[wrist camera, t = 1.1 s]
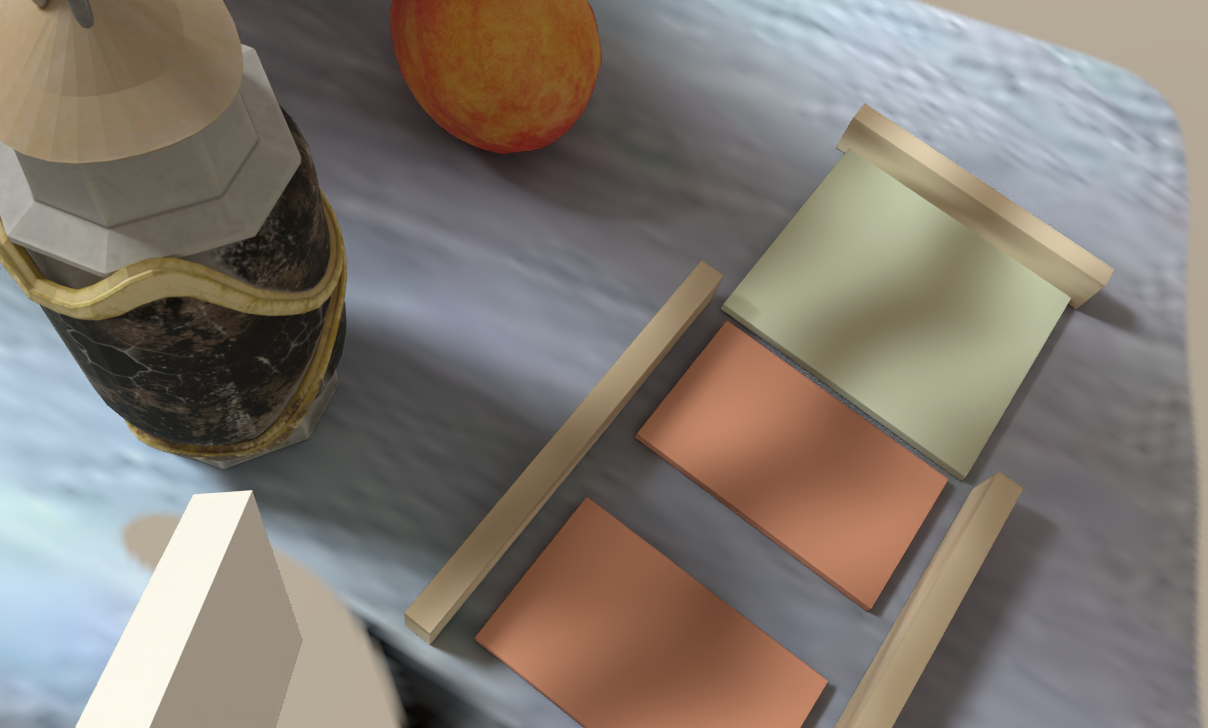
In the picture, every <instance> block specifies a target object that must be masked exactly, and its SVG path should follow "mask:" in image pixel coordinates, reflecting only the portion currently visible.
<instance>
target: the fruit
mask: <svg viewBox="0 0 1208 728" xmlns="http://www.w3.org/2000/svg"><path fill="white" fill-rule="evenodd" d="M390 26H391V36H392V42H393V47H394V52H395V55H396V58H397V61H398V65H399V68H400V71H401V74H402V76H403V78H404V80H405V81H406V83H407V85H408V86H409V88H410V90H411V92H412V93H413V95H414V97H415V98H416V100H417V102H418V103H419V104H420V106H421V107H422V108H423V109H424V110H425V111H426V113H427V114H428V115H429V116H430V117H431V118H432V119H433V120H434V121H435V122H436V123H437V124H439V125H440V126H441V127H442V128H443V129H444V130H446V131H447V132H449V133H450V134H451V135H453V136H455V137H457V138H459V139H460V140H462V141H464V142H466V143H468V144H470V145H473V146H475V147H478V148H481V149H484V150H487V151H491V152H496V153H501V154H507V153H514V152H523V151H534V150H537V149H540V148H543V147H546V146H547V145H549V144H551V143H552V142H554V141H556V140H557V139H559V138H560V137H561V136H563V135H564V134H565V133H566V132H568V131H569V130H570V129H571V128H572V126H573V125H574V124H575V122H576V121H577V120H578V118H579V117H580V116H581V114H582V113H583V112H584V110H585V108H586V106H587V104H588V102H589V99H590V97H591V95H592V92H593V90H594V87H595V83H596V79H597V75H598V72H599V68H600V65H601V61H602V53H601V45H600V40H599V35H598V29H597V24H596V19H595V16H594V13H593V10H592V8H591V6H590V4H589V3H588V1H587V0H392V3H391V10H390Z"/></svg>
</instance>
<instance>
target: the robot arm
mask: <svg viewBox="0 0 1208 728" xmlns="http://www.w3.org/2000/svg"><path fill="white" fill-rule="evenodd" d="M301 643H302V637H301V634H300V631H299V628H298V625H297V622H296V619H295V616H294V613H293V611H292V607H291V604H290V601H289V598H288V596H287V593H286V590H285V587H284V584H283V581H282V578H281V575H280V572H279V569H278V566H277V563H276V560H275V557H274V554H273V551H272V548H271V545H270V542H269V539H268V536H267V533H266V530H265V527H264V524H263V521H262V518H261V515H260V512H259V509H258V506H257V503H256V500H255V497H254V494H253V491H252V490H249V491H235V492H222V493H208V494H194V495H193V497H192V498H191V500H190V502H189V504H188V506H187V508H186V510H185V512H184V514H183V516H182V518H181V520H180V522H179V524H178V526H177V528H176V530H175V532H174V534H173V536H172V538H171V540H170V542H169V544H168V546H167V548H166V550H165V552H164V554H163V556H162V558H161V560H160V562H159V563H158V565H157V567H156V569H155V571H154V573H153V575H152V577H151V579H150V581H149V583H148V585H147V587H146V589H145V591H144V593H143V595H142V597H141V599H140V601H139V603H138V605H137V607H136V609H135V611H134V613H133V615H132V617H131V619H130V621H129V623H128V625H127V627H126V628H125V630H124V632H123V634H122V636H121V638H120V640H119V642H118V644H117V646H116V648H115V650H114V652H113V654H112V656H111V658H110V660H109V662H108V664H107V666H106V668H105V670H104V672H103V674H102V676H101V678H100V680H99V682H98V684H97V686H96V688H95V690H94V692H93V694H92V695H91V697H90V699H89V701H88V703H87V705H86V707H85V709H84V711H83V713H82V715H81V717H80V719H79V721H78V723H77V725H76V727H75V728H276V725H277V721H278V718H279V715H280V711H281V708H282V705H283V702H284V699H285V695H286V692H287V689H288V685H289V682H290V679H291V676H292V672H293V669H294V666H295V663H296V659H297V656H298V653H299V650H300V646H301Z"/></svg>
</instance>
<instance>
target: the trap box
mask: <svg viewBox="0 0 1208 728" xmlns="http://www.w3.org/2000/svg"><path fill="white" fill-rule="evenodd" d="M836 148H838V149H839V150H841V151H842V152H844V153H845V154H844V155H843V156H842V157H841V159H840V160H839V161H838V162H837V164H836V165H835V166H834V167H833V169H832V170H831V171H830V172H829V174H828V175H827V176H826V177H825V179H824V180H823V181H822V182H821V183H820V185H819V186H818V187H817V188H816V190H815V191H814V192H813V193H812V195H811V196H810V197H809V198H808V200H807V201H806V202H805V203H804V205H803V206H802V207H801V208H800V210H799V211H798V212H797V213H796V214H795V216H794V217H793V218H792V219H791V221H790V222H789V223H788V224H787V226H786V227H785V228H784V229H783V231H782V232H781V233H780V234H779V236H778V237H777V238H776V239H775V241H774V242H773V243H772V244H771V246H770V247H769V248H768V249H767V250H766V252H765V253H764V254H763V255H762V257H761V258H760V259H759V260H758V262H757V263H756V264H755V265H754V267H753V268H752V269H751V270H750V272H749V273H748V274H747V275H746V277H745V278H744V279H743V280H742V281H741V283H740V284H739V285H738V286H737V288H736V289H735V290H734V291H733V293H732V294H731V295H730V296H729V298H728V299H727V300H726V301H725V303H724V304H723V306H722V307H721V309H722V310H723V311H724V312H726V313H727V314H729V315H730V316H731V317H733V318H734V319H736V320H737V321H738V322H740V323H741V324H742V325H744V326H745V327H747V328H748V329H749V330H751V331H752V332H754V333H755V334H756V335H758V336H759V337H761V338H762V339H763V340H765V341H766V342H768V343H769V344H770V345H772V346H773V347H775V348H776V349H777V350H779V351H780V352H782V353H783V354H784V355H786V356H787V357H789V358H790V359H791V360H793V361H794V362H796V363H797V364H798V365H800V366H801V367H802V368H804V369H805V370H807V371H808V372H809V373H811V374H812V375H814V376H815V377H816V378H818V379H819V380H821V381H822V382H823V383H825V384H826V385H828V386H829V387H830V388H832V389H833V390H835V391H836V392H837V393H839V394H840V395H842V396H843V397H844V398H846V399H847V400H849V401H850V402H851V403H853V404H854V405H856V406H857V407H858V408H860V409H861V410H862V411H864V412H865V413H867V414H868V415H869V416H871V417H872V418H874V419H875V420H876V421H878V422H879V423H881V424H882V425H883V426H885V427H886V428H888V429H889V430H890V431H892V432H893V433H895V434H896V435H897V436H899V437H900V438H902V439H903V440H904V441H906V442H907V443H909V444H910V445H911V446H913V447H914V448H916V449H917V450H918V451H920V452H921V453H922V454H924V455H925V456H927V457H928V458H929V459H931V460H932V461H934V462H935V463H936V464H938V465H939V466H941V467H942V468H943V469H945V470H946V471H948V472H949V473H950V474H952V475H953V476H955V477H956V478H957V479H959V480H960V481H961V480H963V479H964V478H966V476H967V475H968V473H969V471H970V470H971V468H972V466H973V464H974V463H975V461H976V459H977V458H978V456H979V454H980V453H981V451H982V449H983V447H984V446H985V444H986V442H987V441H988V439H989V437H990V435H991V434H992V432H993V430H994V429H995V427H996V425H997V424H998V422H999V420H1000V418H1001V417H1002V415H1003V413H1004V412H1005V410H1006V408H1007V407H1008V405H1009V403H1010V401H1011V400H1012V398H1013V396H1014V395H1015V393H1016V391H1017V389H1018V388H1019V386H1020V384H1021V383H1022V381H1023V379H1024V378H1025V376H1026V374H1027V372H1028V371H1029V369H1030V367H1031V366H1032V364H1033V362H1034V361H1035V359H1036V357H1037V355H1038V354H1039V352H1040V350H1041V349H1042V347H1043V345H1044V343H1045V342H1046V340H1047V338H1048V337H1049V335H1050V333H1051V332H1052V330H1053V328H1054V326H1055V325H1056V323H1057V321H1058V320H1059V318H1060V316H1061V315H1062V313H1063V311H1064V309H1065V308H1066V306H1067V304H1069V305H1070V306H1072V307H1073V308H1075V309H1077V308H1079V307H1080V306H1081V305H1082V304H1084V303H1085V302H1086V301H1087V300H1088V299H1090V298H1091V297H1092V296H1093V295H1095V294H1096V293H1097V292H1098V291H1099V290H1101V289H1102V288H1103V287H1104V286H1105V285H1106V283H1107V282H1108V280H1109V278H1110V276H1111V275H1112V273H1113V271H1114V269H1113V268H1111V267H1110V266H1108V265H1107V264H1105V263H1104V262H1102V261H1101V260H1099V259H1098V258H1096V257H1095V256H1093V255H1092V254H1090V253H1089V252H1087V251H1086V250H1084V249H1083V248H1081V247H1080V246H1078V245H1077V244H1075V243H1074V242H1072V241H1071V240H1069V239H1068V238H1066V237H1065V236H1063V235H1062V234H1060V233H1059V232H1057V231H1056V230H1054V229H1053V228H1051V227H1050V226H1048V225H1047V224H1045V223H1044V222H1042V221H1041V220H1039V219H1038V218H1036V217H1035V216H1033V215H1032V214H1030V213H1029V212H1027V211H1026V210H1024V209H1023V208H1021V207H1020V206H1018V205H1017V204H1015V203H1014V202H1012V201H1011V200H1009V199H1008V198H1006V197H1005V196H1003V195H1002V194H1000V193H999V192H997V191H996V190H994V189H993V188H991V187H990V186H988V185H987V184H985V183H984V182H982V181H981V180H979V179H978V178H976V177H975V176H973V175H972V174H970V173H969V172H967V171H966V170H964V169H963V168H961V167H960V166H958V165H957V164H955V163H954V162H952V161H951V160H949V159H948V158H946V157H945V156H943V155H942V154H940V153H939V152H937V151H936V150H934V149H933V148H931V147H930V146H928V145H927V144H925V143H924V142H922V141H921V140H919V139H918V138H916V137H915V136H913V135H912V134H910V133H909V132H907V131H906V130H904V129H903V128H901V127H900V126H898V125H897V124H895V123H894V122H892V121H891V120H889V119H888V118H886V117H885V116H883V115H881V114H880V113H878V112H877V111H875V110H874V109H872V108H871V107H869V106H868V105H866V104H864V105H863V106H862V108H861V109H860V110H859V111H858V113H857V114H856V115H855V116H854V117H853V119H852V121H851V122H850V124H849V126H848V128H847V129H846V131H845V133H844V134H843V136H842V138H841V139H840V141H839V143H838V145H837V146H836ZM722 278H723V275H722V274H721V273H719V272H718V271H716V270H715V269H714V268H712V267H711V266H709V265H708V264H707V263H705V262H704V261H702V260H701V262H700V263H699V264H698V265H697V266H696V268H695V269H694V270H693V271H692V272H691V274H690V275H689V276H688V277H687V278H686V279H685V281H684V282H683V283H682V284H681V285H680V287H679V288H678V289H677V290H676V291H675V293H674V294H673V295H672V296H671V297H670V298H669V300H668V301H667V302H666V303H665V304H664V306H663V307H662V308H661V309H660V310H659V311H658V313H657V314H656V315H655V316H654V317H653V319H652V320H651V321H650V322H649V323H648V325H647V326H646V327H645V328H644V329H643V330H642V332H641V333H640V334H639V335H638V336H637V338H636V339H635V340H634V341H633V342H632V344H631V345H630V346H629V347H628V348H627V349H626V351H625V352H624V353H623V354H622V355H621V357H620V358H619V359H618V360H617V361H616V362H615V364H614V365H613V366H612V367H611V368H610V370H609V371H608V372H607V373H606V374H605V376H604V377H603V378H602V379H601V380H600V381H599V383H598V384H597V385H596V386H595V387H594V389H593V390H592V391H591V392H590V393H589V395H588V396H587V397H586V398H585V399H584V400H583V402H582V403H581V404H580V405H579V406H578V408H577V409H576V410H575V411H574V412H573V413H572V415H571V416H570V417H569V418H568V419H567V421H566V422H565V423H564V424H563V425H562V427H561V428H560V429H559V430H558V431H557V432H556V434H555V435H554V436H553V437H552V438H551V440H550V441H549V442H548V443H547V444H546V446H545V447H544V448H543V449H542V450H541V451H540V453H539V454H538V455H537V456H536V457H535V459H534V460H533V461H532V462H531V463H530V464H529V466H528V467H527V468H526V469H525V470H524V472H523V473H522V474H521V475H520V476H519V478H518V479H517V480H516V481H515V482H514V483H513V485H512V486H511V487H510V488H509V489H508V491H507V492H506V493H505V494H504V495H503V497H502V498H501V499H500V500H499V501H498V502H497V504H496V505H495V506H494V507H493V508H492V510H491V511H490V512H489V513H488V514H487V515H486V517H485V518H484V519H483V520H482V521H481V523H480V524H479V525H478V526H477V527H476V529H475V530H474V531H473V532H472V533H471V534H470V536H469V537H468V538H467V539H466V540H465V542H464V543H463V544H462V545H461V546H460V548H459V549H458V550H457V551H456V552H455V553H454V555H453V556H452V557H451V558H450V559H449V561H448V562H447V563H446V564H445V565H444V566H443V568H442V569H441V570H440V571H439V572H438V574H437V575H436V576H435V577H434V578H433V580H432V581H431V582H430V583H429V584H428V585H427V587H426V588H425V589H424V590H423V591H422V593H421V594H420V595H419V596H418V597H417V599H416V600H415V601H414V602H413V603H412V604H411V606H410V607H409V608H408V609H407V610H406V612H405V613H404V614H405V623H406V626H407V627H408V628H409V629H411V630H412V631H413V632H414V633H416V634H417V635H418V636H419V637H420V638H422V639H423V640H424V641H425V642H427V643H428V644H429V645H430V644H431V643H432V642H433V641H434V639H435V638H436V637H437V636H438V635H439V633H440V632H441V631H442V630H443V628H444V627H445V626H446V625H447V623H448V622H449V621H450V620H451V619H452V617H453V616H454V615H455V614H456V612H457V611H458V610H459V609H460V608H461V606H462V605H463V604H464V603H465V601H466V600H467V599H468V598H469V597H470V595H471V594H472V593H473V592H474V590H475V589H476V588H477V587H478V585H479V584H480V583H481V582H482V581H483V579H484V578H485V577H486V576H487V574H488V573H489V572H490V571H491V570H492V568H493V567H494V566H495V565H496V563H497V562H498V561H499V560H500V559H501V557H502V556H503V555H504V554H505V552H506V551H507V550H508V549H509V547H510V546H511V545H512V544H513V543H514V541H515V540H516V539H517V538H518V536H519V535H520V534H521V533H522V532H523V530H524V529H525V528H526V527H527V525H528V524H529V523H530V522H531V521H532V519H533V518H534V517H535V516H536V514H537V513H538V512H539V511H540V509H541V508H542V507H543V506H544V505H545V503H546V502H547V501H548V500H549V498H550V497H551V496H552V495H553V494H554V492H555V491H556V490H557V489H558V487H559V486H560V485H561V484H562V482H563V481H564V480H565V479H566V478H567V476H568V475H569V474H570V473H571V471H572V470H573V469H574V468H575V467H576V465H577V464H578V463H579V462H580V460H581V459H582V458H583V457H584V456H585V454H586V453H587V452H588V451H589V449H590V448H591V447H592V446H593V444H594V443H595V442H596V441H597V440H598V438H599V437H600V436H601V435H602V433H603V432H604V431H605V430H606V429H607V427H608V426H609V425H610V424H611V422H612V421H613V420H614V419H615V418H616V416H617V415H618V414H619V413H620V411H621V410H622V409H623V408H624V406H625V405H626V404H627V403H628V402H629V400H630V399H631V398H632V397H633V395H634V394H635V393H636V392H637V391H638V389H639V388H640V387H641V386H642V384H643V383H644V382H645V381H646V380H647V378H648V377H649V376H650V375H651V373H652V372H653V371H654V370H655V368H656V367H657V366H658V365H659V364H660V362H661V361H662V360H663V359H664V357H665V356H666V355H667V354H668V353H669V351H670V350H671V349H672V348H673V346H674V345H675V344H676V343H677V341H678V340H679V339H680V338H681V337H682V335H683V334H684V333H685V332H686V330H687V329H688V328H689V327H690V326H691V324H692V323H693V322H694V321H695V319H696V318H697V317H698V316H699V315H700V313H701V312H702V311H703V310H704V308H705V307H706V306H707V305H708V303H709V302H710V301H711V299H712V297H713V295H714V293H715V291H716V289H717V287H718V286H719V284H720V282H721V280H722ZM635 438H636V439H637V440H639V441H640V442H641V443H643V444H644V445H646V446H647V447H648V448H650V449H651V450H652V451H654V452H655V453H656V454H658V455H659V456H660V457H662V458H663V459H664V460H666V461H667V462H668V463H670V464H671V465H672V466H674V467H675V468H676V469H678V470H679V471H680V472H682V473H683V474H684V475H686V476H687V477H688V478H690V479H691V480H692V481H694V482H695V483H696V484H698V485H699V486H700V487H702V488H703V489H704V490H706V491H707V492H708V493H710V494H711V495H712V496H714V497H715V498H716V499H718V500H719V501H720V502H722V503H723V504H724V505H726V506H727V507H728V508H730V509H731V510H732V511H734V512H735V513H736V514H738V515H739V516H740V517H742V518H743V519H744V520H746V521H747V522H748V523H750V524H751V525H752V526H754V527H755V528H756V529H758V530H759V531H760V532H762V533H763V534H764V535H766V536H767V537H768V538H770V539H771V540H772V541H774V542H775V543H776V544H778V545H779V546H780V547H782V548H783V549H784V550H786V551H787V552H788V553H790V554H791V555H792V556H794V557H795V558H796V559H798V560H799V561H800V562H802V563H803V564H804V565H806V566H807V567H808V568H810V569H811V570H812V571H814V572H815V573H816V574H818V575H819V576H820V577H822V578H823V579H824V580H826V581H827V582H828V583H830V584H831V585H832V586H834V587H835V588H836V589H838V590H839V591H840V592H842V593H843V594H844V595H846V596H847V597H848V598H850V599H851V600H852V601H854V602H855V603H856V604H858V605H859V606H860V607H862V608H863V609H864V610H866V611H868V610H870V609H871V608H872V607H873V605H874V603H875V602H876V600H877V598H878V597H879V595H880V593H881V592H882V590H883V588H884V586H885V585H886V583H887V581H888V580H889V578H890V576H891V575H892V573H893V571H894V570H895V568H896V566H897V565H898V563H899V561H900V560H901V558H902V556H903V555H904V553H905V551H906V550H907V548H908V546H909V545H910V543H911V541H912V540H913V538H914V536H915V535H916V533H917V531H918V529H919V528H920V526H921V524H922V523H923V521H924V519H925V518H926V516H927V514H928V513H929V511H930V509H931V508H932V506H933V504H934V503H935V501H936V499H937V498H938V496H939V494H940V493H941V491H942V489H943V488H944V486H945V484H946V483H947V481H948V479H947V478H946V477H945V476H943V475H942V474H940V473H939V472H938V471H936V470H935V469H933V468H932V467H931V466H929V465H928V464H926V463H925V462H924V461H922V460H921V459H920V458H918V457H917V456H915V455H914V454H913V453H911V452H910V451H908V450H907V449H906V448H904V447H903V446H901V445H900V444H899V443H897V442H896V441H894V440H893V439H892V438H890V437H889V436H887V435H886V434H885V433H883V432H882V431H880V430H879V429H878V428H876V427H875V426H874V425H872V424H871V423H869V422H868V421H867V420H865V419H864V418H862V417H861V416H860V415H858V414H857V413H855V412H854V411H853V410H851V409H850V408H848V407H847V406H846V405H844V404H843V403H841V402H840V401H839V400H837V399H836V398H835V397H833V396H832V395H830V394H829V393H828V392H826V391H825V390H823V389H822V388H821V387H819V386H818V385H816V384H815V383H814V382H812V381H811V380H809V379H808V378H807V377H805V376H804V375H802V374H801V373H800V372H798V371H797V370H796V369H794V368H793V367H791V366H790V365H789V364H787V363H786V362H784V361H783V360H782V359H780V358H779V357H777V356H776V355H775V354H773V353H772V352H770V351H769V350H768V349H766V348H765V347H763V346H762V345H761V344H759V343H758V342H757V341H755V340H754V339H752V338H751V337H750V336H748V335H747V334H745V333H744V332H743V331H741V330H740V329H738V328H737V327H736V326H734V325H733V324H731V323H730V322H729V321H726V322H725V323H724V325H723V326H722V327H721V329H720V330H719V331H718V332H717V334H716V335H715V336H714V337H713V339H712V340H711V341H710V342H709V344H708V345H707V346H706V347H705V349H704V350H703V351H702V352H701V354H700V355H699V356H698V357H697V359H696V360H695V361H694V362H693V364H692V365H691V366H690V367H689V369H688V370H687V371H686V373H685V374H684V375H683V376H682V378H681V379H680V380H679V381H678V383H677V384H676V385H675V386H674V388H673V389H672V390H671V391H670V393H669V394H668V395H667V396H666V398H665V399H664V400H663V401H662V403H661V404H660V405H659V406H658V408H657V409H656V410H655V412H654V413H653V414H652V415H651V417H650V418H649V419H648V420H647V422H646V423H645V424H644V425H643V427H642V428H641V429H640V430H639V432H638V433H637V434H636V436H635ZM1022 490H1023V488H1022V487H1020V486H1019V485H1018V484H1016V483H1015V482H1013V481H1012V480H1011V479H1009V478H1008V477H1006V476H1005V475H1004V474H1002V473H1001V472H998V473H996V474H995V475H993V476H992V477H990V478H989V479H987V480H985V481H984V482H982V483H981V484H979V485H978V486H976V487H975V488H973V489H972V490H971V492H970V494H969V495H968V497H967V499H966V501H965V502H964V504H963V506H962V507H961V509H960V511H959V513H958V514H957V516H956V518H955V519H954V521H953V523H952V525H951V526H950V528H949V530H948V532H947V533H946V535H945V537H944V538H943V540H942V542H941V544H940V545H939V547H938V549H937V551H936V552H935V554H934V556H933V557H932V559H931V561H930V563H929V564H928V566H927V568H926V570H925V571H924V573H923V575H922V576H921V578H920V580H919V582H918V583H917V585H916V587H915V589H914V590H913V592H912V594H911V595H910V597H909V599H908V601H907V602H906V604H905V606H904V607H903V609H902V611H901V613H900V614H899V616H898V618H897V620H896V621H895V623H894V625H893V626H892V628H891V630H890V632H889V633H888V635H887V637H886V639H885V640H884V642H883V644H882V645H881V647H880V649H879V651H878V652H877V654H876V656H875V658H874V659H873V661H872V663H871V664H870V666H869V668H868V670H867V671H866V673H865V675H864V677H863V678H862V680H861V682H860V683H859V685H858V687H857V689H856V690H855V692H854V694H853V695H852V697H851V699H850V701H849V702H848V704H847V706H846V708H845V709H844V711H843V713H842V714H841V716H840V718H839V720H838V721H837V723H836V725H835V727H834V728H892V727H893V725H894V723H895V721H896V719H897V718H898V716H899V714H900V712H901V710H902V708H903V707H904V705H905V703H906V701H907V699H908V698H909V696H910V694H911V692H912V690H913V688H914V687H915V685H916V683H917V681H918V679H919V678H920V676H921V674H922V672H923V670H924V668H925V667H926V665H927V663H928V661H929V659H930V658H931V656H932V654H933V652H934V650H935V648H936V647H937V645H938V643H939V641H940V639H941V638H942V636H943V634H944V632H945V630H946V629H947V627H948V625H949V623H950V621H951V619H952V618H953V616H954V614H955V612H956V610H957V609H958V607H959V605H960V603H961V601H962V599H963V598H964V596H965V594H966V592H967V590H968V589H969V587H970V585H971V583H972V581H973V579H974V578H975V576H976V574H977V572H978V570H979V569H980V567H981V565H982V563H983V561H984V559H985V558H986V556H987V554H988V552H989V550H990V549H991V547H992V545H993V543H994V541H995V539H996V538H997V536H998V534H999V532H1000V530H1001V529H1002V527H1003V525H1004V523H1005V521H1006V519H1007V518H1008V516H1009V514H1010V512H1011V510H1012V509H1013V507H1014V505H1015V503H1016V501H1017V500H1018V498H1019V496H1020V494H1021V492H1022ZM474 640H476V641H477V642H478V643H479V644H481V645H482V646H483V647H484V648H486V649H487V650H488V651H489V652H491V653H492V654H493V655H494V656H495V657H497V658H498V659H499V660H500V661H502V662H503V663H504V664H505V665H507V666H508V667H509V668H510V669H512V670H513V671H514V672H515V673H517V674H518V675H519V676H520V677H521V678H523V679H524V680H525V681H526V682H528V683H529V684H530V685H531V686H533V687H534V688H535V689H536V690H538V691H539V692H540V693H541V694H543V695H544V696H545V697H546V698H548V699H549V700H550V701H551V702H552V703H554V704H555V705H556V706H557V707H559V708H560V709H561V710H562V711H564V712H565V713H566V714H567V715H569V716H570V717H571V718H572V719H574V720H575V721H576V722H577V723H578V724H580V725H581V726H582V727H583V728H800V727H801V726H802V724H803V722H804V721H805V719H806V717H807V716H808V714H809V712H810V711H811V709H812V707H813V706H814V704H815V702H816V701H817V699H818V697H819V696H820V694H821V692H822V690H823V689H824V687H825V685H826V684H827V682H828V681H827V680H826V679H825V678H823V677H822V676H821V675H819V674H818V673H817V672H815V671H814V670H813V669H812V668H810V667H809V666H808V665H806V664H805V663H804V662H802V661H801V660H800V659H798V658H797V657H796V656H795V655H793V654H792V653H791V652H789V651H788V650H787V649H785V648H784V647H783V646H782V645H780V644H779V643H778V642H776V641H775V640H774V639H772V638H771V637H770V636H768V635H767V634H766V633H765V632H763V631H762V630H761V629H759V628H758V627H757V626H755V625H754V624H753V623H751V622H750V621H749V620H748V619H746V618H745V617H744V616H742V615H741V614H740V613H738V612H737V611H736V610H735V609H733V608H732V607H731V606H729V605H728V604H727V603H725V602H724V601H723V600H721V599H720V598H719V597H718V596H716V595H715V594H714V593H712V592H711V591H710V590H708V589H707V588H706V587H704V586H703V585H702V584H701V583H699V582H698V581H697V580H695V579H694V578H693V577H691V576H690V575H689V574H688V573H686V572H685V571H684V570H682V569H681V568H680V567H678V566H677V565H676V564H674V563H673V562H672V561H671V560H669V559H668V558H667V557H665V556H664V555H663V554H661V553H660V552H659V551H657V550H656V549H655V548H654V547H652V546H651V545H650V544H648V543H647V542H646V541H644V540H643V539H642V538H641V537H639V536H638V535H637V534H635V533H634V532H633V531H631V530H630V529H629V528H627V527H626V526H625V525H624V524H622V523H621V522H620V521H618V520H617V519H616V518H614V517H613V516H612V515H611V514H609V513H608V512H607V511H605V510H604V509H603V508H601V507H600V506H599V505H597V504H596V503H595V502H594V501H592V500H591V499H590V498H588V497H586V498H585V500H584V501H583V502H582V503H581V505H580V506H579V507H578V508H577V510H576V511H575V512H574V513H573V515H572V516H571V517H570V518H569V520H568V521H567V522H566V523H565V525H564V526H563V527H562V528H561V530H560V531H559V532H558V533H557V535H556V536H555V537H554V538H553V540H552V541H551V542H550V544H549V545H548V546H547V547H546V549H545V550H544V551H543V552H542V554H541V555H540V556H539V557H538V559H537V560H536V561H535V562H534V564H533V565H532V566H531V567H530V569H529V570H528V571H527V572H526V574H525V575H524V576H523V577H522V579H521V580H520V581H519V583H518V584H517V585H516V586H515V588H514V589H513V590H512V591H511V593H510V594H509V595H508V596H507V598H506V599H505V600H504V601H503V603H502V604H501V605H500V606H499V608H498V609H497V610H496V611H495V613H494V614H493V615H492V616H491V618H490V619H489V620H488V621H487V623H486V624H485V625H484V627H483V628H482V629H481V630H480V632H479V633H478V634H477V635H476V637H475V639H474Z"/></svg>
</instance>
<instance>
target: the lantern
mask: <svg viewBox="0 0 1208 728" xmlns="http://www.w3.org/2000/svg"><path fill="white" fill-rule="evenodd" d="M0 262H1V263H2V265H3V266H4V267H5V269H6V270H7V271H8V272H9V274H10V275H11V276H12V277H13V279H14V280H15V281H16V283H17V284H18V285H19V286H20V288H21V289H22V290H23V291H24V293H25V294H26V295H27V296H28V298H29V299H30V300H32V301H34V302H36V303H38V304H40V306H41V308H42V309H43V311H44V312H45V314H46V315H47V317H48V318H49V320H50V321H51V323H52V324H53V326H54V328H55V329H56V331H57V332H58V334H59V335H60V337H61V338H62V340H63V341H64V343H65V344H66V346H67V348H68V349H69V351H70V352H71V354H72V355H73V357H74V358H75V360H76V361H77V363H78V364H79V366H80V368H81V369H82V371H83V372H84V374H85V375H86V377H87V378H88V380H89V381H90V383H91V384H92V386H93V387H94V389H95V390H96V391H97V392H98V394H99V395H100V396H101V398H102V399H103V400H104V401H105V403H106V404H107V405H108V406H109V407H110V408H112V409H113V410H114V411H115V412H116V413H118V414H119V415H120V416H121V417H123V418H124V419H125V421H126V423H127V425H128V427H129V429H130V430H131V431H132V433H133V434H134V435H135V436H136V437H137V439H138V440H140V441H142V442H143V443H145V444H146V445H148V446H150V447H153V448H155V449H158V450H161V451H163V452H167V453H171V454H175V455H180V456H184V457H189V458H193V459H196V460H198V461H201V462H204V463H207V464H209V465H212V466H215V467H218V468H220V469H226V468H229V467H232V466H234V465H237V464H240V463H243V462H245V461H248V460H251V459H254V458H256V457H259V456H262V455H265V454H267V453H270V452H273V451H276V450H278V449H281V448H284V447H287V446H289V445H292V444H295V443H298V442H300V441H303V440H306V439H308V438H309V437H310V436H311V434H312V432H313V430H314V428H315V427H316V425H317V423H318V421H319V419H320V418H321V416H322V414H323V412H324V411H325V409H326V407H327V405H328V403H329V402H330V400H331V398H332V396H333V394H334V393H335V391H336V389H337V387H338V385H339V380H338V375H337V371H336V367H337V365H338V362H339V360H340V358H341V355H342V351H343V345H344V339H345V333H346V311H345V301H344V298H345V291H346V282H347V261H346V254H345V248H344V242H343V237H342V233H341V228H340V226H339V223H338V220H337V218H336V216H335V214H334V212H333V209H332V207H331V206H330V204H329V202H328V200H327V199H326V197H325V195H324V194H323V192H322V191H321V189H320V188H319V184H318V180H317V175H316V171H315V167H314V163H313V160H312V157H311V153H310V150H309V146H308V144H307V142H306V141H305V139H304V137H303V135H302V134H301V132H300V130H299V128H298V127H297V125H296V124H295V122H294V121H293V120H292V118H291V117H290V116H289V115H288V114H287V113H286V111H285V110H284V109H283V108H282V107H281V106H280V105H279V104H278V102H277V99H276V97H275V95H274V92H273V90H272V88H271V85H270V83H269V81H268V78H267V76H266V74H265V71H264V69H263V67H262V64H261V62H260V59H259V57H258V55H257V52H256V51H255V49H254V48H251V47H249V46H246V45H243V44H241V42H240V39H239V35H238V32H237V29H236V26H235V23H234V20H233V19H232V17H231V15H230V13H229V11H228V9H227V7H226V5H225V3H224V2H223V0H0Z"/></svg>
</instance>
